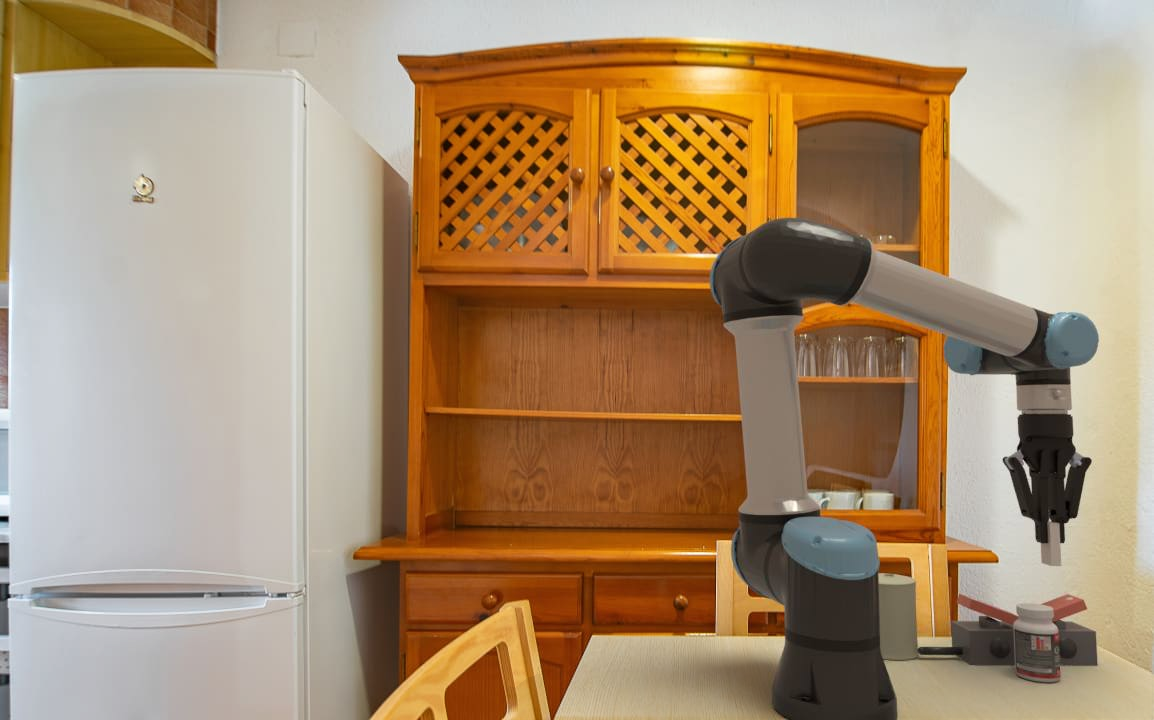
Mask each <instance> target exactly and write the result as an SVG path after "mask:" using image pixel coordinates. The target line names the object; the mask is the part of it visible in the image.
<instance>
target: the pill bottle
mask: <svg viewBox="0 0 1154 720" xmlns="http://www.w3.org/2000/svg"><path fill="white" fill-rule="evenodd" d="M1041 604H1042V603H1033V602H1031V603H1030V602H1027V603H1026V602H1025V603H1024V602H1023V603H1017V604H1016V609H1015V610H1016V614H1017V616H1019V619H1017V620H1016V621H1015V622H1014V624H1013V635H1014V659H1015V665H1014V672H1015V674H1016V675H1017V676H1018V677H1020V678H1022V679H1025V680H1027V681H1031V682H1036V683H1048V684H1049V683H1056V682H1059V681H1060V680H1061V677H1062V676H1061V675H1062V674H1061V665H1060V653H1059V632H1058V628H1057V626H1056V625H1055V624H1054V623H1052V618H1053V617H1054V611H1053V608H1052V607H1050V606H1046V605H1041Z"/></svg>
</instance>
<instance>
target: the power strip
mask: <svg viewBox="0 0 1154 720" xmlns="http://www.w3.org/2000/svg"><path fill="white" fill-rule="evenodd" d="M1052 623H1054V624H1055V625H1056V626H1057V628H1058V632H1059V653H1060V666H1098V645H1097V644H1098V643H1097V631H1096V630H1094V629H1091V628H1088V627H1086V626H1083V625H1082V624H1078V623H1077V622H1074V621H1066V620H1065V621H1064V620H1062V619H1060V620H1057V621H1054V622H1052ZM950 627H951V646H918V653H919V655H922V656H956V657H957V658H958V659H960V658H961V660H962V661H964V662H965V663H967V664H968V665H970V666H1015V659H1014V635H1013V625H1011V624H1009V623H1006V622H1003V621H1001V620H998V619H995V618H992V617H990V616H987V615H978V620H951V621H950Z"/></svg>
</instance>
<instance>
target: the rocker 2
mask: <svg viewBox="0 0 1154 720" xmlns="http://www.w3.org/2000/svg"><path fill="white" fill-rule="evenodd" d="M1040 604H1041V605H1046V606H1050V607H1052V608H1053V611H1054V617H1053V618H1052V622H1054V621H1057V620H1062V619H1064V618H1067V617H1070V616H1072V615H1075V614H1078V613H1081V612H1084V611H1086V610H1088V607H1087V605H1086V602H1085V600H1084V599H1082V598H1080V597H1077V596H1074V595H1071V594H1069V593H1067V594H1064V595H1061V596H1059V597H1056V598H1053V599H1051V600H1048V601H1045V602H1042V603H1040Z"/></svg>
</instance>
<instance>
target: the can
mask: <svg viewBox="0 0 1154 720" xmlns="http://www.w3.org/2000/svg"><path fill="white" fill-rule="evenodd" d="M916 583H917V581H916V579H915V578H913V577H910V576H906V575H901V574H897V573H886V572H885V573H883V572H882V573H879V615H880V650H881V654H882V657H883V660H884V661H885V660H886V661H910V660H914V659H917V658H918V657H919V656H920V654H919V653H918V648H919V643H918V628H917V627H918V626H917V624H918V623H917V597H916V596H917V593H916V585H917V584H916Z"/></svg>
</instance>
